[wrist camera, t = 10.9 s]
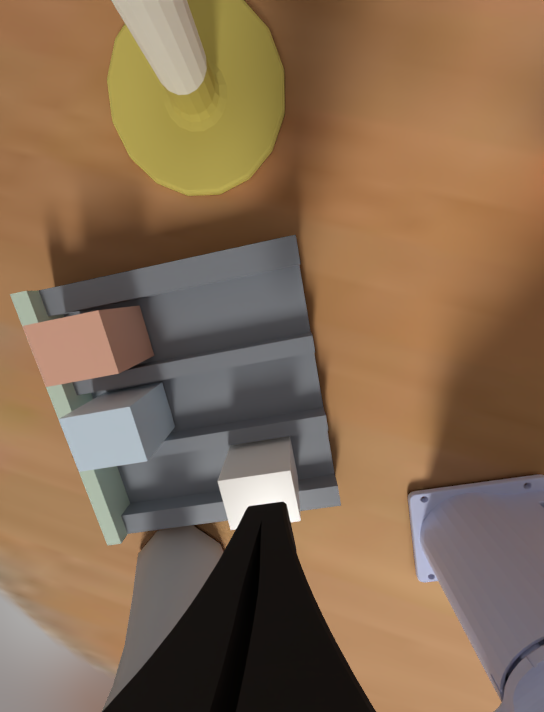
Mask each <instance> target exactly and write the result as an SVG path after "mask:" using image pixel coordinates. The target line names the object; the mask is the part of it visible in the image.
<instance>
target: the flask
mask: <svg viewBox="0 0 544 712" xmlns="http://www.w3.org/2000/svg"><path fill="white" fill-rule="evenodd" d="M222 554H223V549H222V546H221V544H220V543H218V542H217V541H215V540H214V539H212V538H211V537H209V536H208V535H206V534H205V533H203V532H202V531H200V530H199V529H197V528H196V527H194V526H193V525H190V526H182V527H175V528H170V529H165V530H159V531H157V532H156V533H155V534H154V535H153V537H152V538H151V539H150V540H149V541H148V543H147V544H146V545H145V546H144V547H143V548H142V550H141V551H140V552H139V553H138V559H137V566H136V574H135V582H134V590H133V597H132V604H131V610H130V616H129V622H128V628H127V634H126V641H125V646H124V650H123V653H122V656H121V660H120V663H119V667H118V670H117V673H116V677H115V680H114V684H113V687H112V689H111V692H110V694H109V696H108V699H107V701H106V703H105V706H104V708H103V710H104V709H105V708H106V707H107V706H108V705H109V704H110V702H111V701H112V700H113V699H114V698H115V697H116V696H117V695H118V694H119V692H120V691H121V690H122V689H123V688H124V687H125V686H126V685H127V684H128V682H129V681H130V680H131V679H132V678H133V677H134V676H135V675H136V674H137V672H138V671H139V670H140V669H141V668H142V666H143V665H144V664H145V663H146V662H147V660H148V659H149V658H150V657H151V656H152V654H153V653H154V652H155V651H156V649H157V648H158V647H159V646H160V644H161V643H162V642H163V641H164V639H165V638H166V637H167V636H168V634H169V633H170V632H171V630H172V629H173V628H174V626H175V625H176V624H177V622H178V621H179V620H180V618H181V617H182V616H183V614H184V613H185V612H186V610H187V609H188V607H189V606H190V604H191V603H192V602H193V600H194V599H195V597H196V596H197V594H198V593H199V591H200V590H201V588H202V587H203V585H204V583H205V582H206V580H207V579H208V577H209V575H210V574H211V572H212V571H213V569H214V568H215V566H216V564H217V563H218V561H219V559H220V557H221V556H222Z"/></svg>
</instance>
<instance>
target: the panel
mask: <svg viewBox="0 0 544 712" xmlns="http://www.w3.org/2000/svg"><path fill="white" fill-rule="evenodd" d="M299 265H300V258H299V252H298V246H297V240H296V235H292V236H287V237H282V238H278V239H273V240H269V241H264V242H259V243H255V244H250V245H246V246H241V247H237V248H232V249H227V250H223V251H218V252H214V253H209V254H204V255H200V256H195V257H191V258H186V259H182V260H177V261H172V262H168V263H163V264H159V265H154V266H149V267H145V268H140V269H136V270H131V271H127V272H122V273H117V274H113V275H108V276H104V277H99V278H94V279H90V280H85V281H81V282H76V283H72V284H67V285H62V286H58V287H53V288H49V289H44V290H39V291H23V292H19V293H14V294H10V296H11V298H12V301H13V303H14V306H15V308H16V311H17V314H18V316H19V319H20V321H21V324H22V326H25V325H30V324H34V323H39V322H44V321H49V320H54V319H59V318H63V317H68V316H73V315H78V314H83V313H87V312H92V311H97V310H105V309H114V308H122V307H131V306H140V308H141V312H142V315H143V318H144V322H145V325H146V329H147V332H148V335H149V339H150V342H151V346H152V349H153V352H154V356H153V357H151V358H149V359H147V360H145V361H143V362H141V363H139V364H137V365H135V366H133V367H131V368H129V369H127V370H125V371H123V372H121V373H119V374H114V375H109V376H103V377H98V378H93V379H87V380H82V381H76V382H71V383H66V384H60V385H55V386H49V387H46V388H47V391H48V393H49V396H50V399H51V401H52V404H53V406H54V409H55V411H56V414H57V417H58V419H59V418H61V417H63V416H65V415H66V414H68V413H70V412H72V411H73V410H75V409H77V408H79V407H80V406H82V405H84V404H86V403H87V402H89V401H91V400H93V399H94V398H96V397H98V396H100V395H101V394H103V393H105V392H110V391H115V390H121V389H126V388H132V387H138V386H143V385H149V384H154V383H160V382H162V383H163V387H164V390H165V393H166V397H167V400H168V404H169V407H170V410H171V414H172V417H173V421H174V424H175V428H174V429H173V430H172V431H171V433H170V434H169V435H168V436H167V438H166V439H165V440H164V441H163V443H162V444H161V445H160V446H159V448H158V449H157V450H156V451H155V453H154V454H153V455H152V456H151V458H150V459H149V460H148V461H146V462H140V463H133V464H127V465H120V466H114V467H107V468H101V469H95V470H88V471H82V472H79V473H80V476H81V478H82V481H83V483H84V486H85V489H86V491H87V494H88V496H89V499H90V501H91V504H92V507H93V509H94V512H95V514H96V517H97V519H98V522H99V525H100V527H101V530H102V532H103V535H104V537H105V540H106V543H107V545H114V544H121V543H122V542H123V540H124V539H125V537H126V535H127V534H129V533H137V532H144V531H152V530H160V529H167V528H175V527H182V526H190V525H197V524H205V523H212V522H220V521H227V520H228V518H227V514H226V511H225V507H224V503H223V500H222V496H221V492H220V489H219V485H218V478H219V475H220V473H221V470H222V467H223V464H224V461H225V458H226V456H227V453H228V450H229V447H230V445H236V444H242V443H249V442H255V441H262V440H268V439H275V438H281V437H287V436H290V439H291V444H292V449H293V454H294V459H295V464H296V469H297V474H298V487H299V502H300V511H303V510H311V509H318V508H326V507H333V506H341V503H340V497H339V491H338V485H337V481H336V478H335V474H334V468H333V462H332V456H331V450H330V444H329V438H328V432H327V430H328V425H327V419H326V414H325V411H324V408H323V402H322V397H321V391H320V385H319V379H318V373H317V367H316V361H315V355H314V352H315V347H314V342H313V336H312V334H311V331H310V325H309V319H308V313H307V308H306V302H305V296H304V290H303V284H302V278H301V272H300V266H299ZM24 332H25V331H24ZM26 337H27V336H26ZM31 350H32V349H31ZM33 355H34V354H33ZM36 363H37V362H36ZM38 368H39V367H38ZM40 373H41V372H40ZM43 381H44V380H43ZM45 386H46V385H45ZM59 422H60V421H59ZM64 435H65V434H64ZM66 440H67V439H66ZM71 453H72V452H71ZM78 471H79V470H78Z"/></svg>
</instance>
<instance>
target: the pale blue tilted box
mask: <svg viewBox="0 0 544 712" xmlns="http://www.w3.org/2000/svg"><path fill="white" fill-rule="evenodd" d="M59 421H60V424H61V427H62V429H63V432H64V434H65V437H66V439H67V442H68V445H69V447H70V450H71V452H72V455H73V458H74V460H75V463H76V465H77V468H78V470H79V472H82V471H88V470H95V469H101V468H107V467H114V466H120V465H127V464H133V463H140V462H146V461H148V460H149V459H150V458H151V456H152V455H153V454H154V453H155V451H156V450H157V449H158V448H159V446H160V445H161V444H162V443H163V441H164V440H165V439H166V438H167V436H168V435H169V434H170V433H171V431H172V430H173V429H174V428H175V424H174V421H173V417H172V414H171V410H170V407H169V404H168V400H167V397H166V393H165V390H164V387H163V383H162V382H160V383H154V384H149V385H143V386H138V387H132V388H126V389H121V390H115V391H110V392H105V393H103V394H101V395H100V396H98V397H96V398H94V399H93V400H91V401H89V402H87V403H86V404H84V405H82V406H80V407H79V408H77V409H75V410H73V411H72V412H70V413H68V414H66V415H65V416H63V417H61V418H59Z"/></svg>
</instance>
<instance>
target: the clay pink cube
mask: <svg viewBox="0 0 544 712" xmlns="http://www.w3.org/2000/svg"><path fill="white" fill-rule="evenodd" d="M23 329H24V331H25V334H26V336H27V339H28V342H29V344H30V347H31V349H32V352H33V354H34V357H35V360H36V362H37V365H38V367H39V370H40V372H41V375H42V378H43V380H44V383H45V385H46V387H49V386H55V385H60V384H66V383H71V382H76V381H82V380H87V379H93V378H98V377H103V376H109V375H114V374H119V373H121V372H123V371H125V370H127V369H129V368H131V367H133V366H135V365H137V364H139V363H141V362H143V361H145V360H147V359H149V358H151V357H153V356H154V352H153V349H152V346H151V342H150V339H149V335H148V332H147V329H146V325H145V322H144V318H143V315H142V312H141V308H140V306H131V307H122V308H114V309H105V310H97V311H92V312H87V313H83V314H78V315H73V316H68V317H63V318H59V319H54V320H49V321H44V322H39V323H34V324H30V325H25V326H23Z"/></svg>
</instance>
